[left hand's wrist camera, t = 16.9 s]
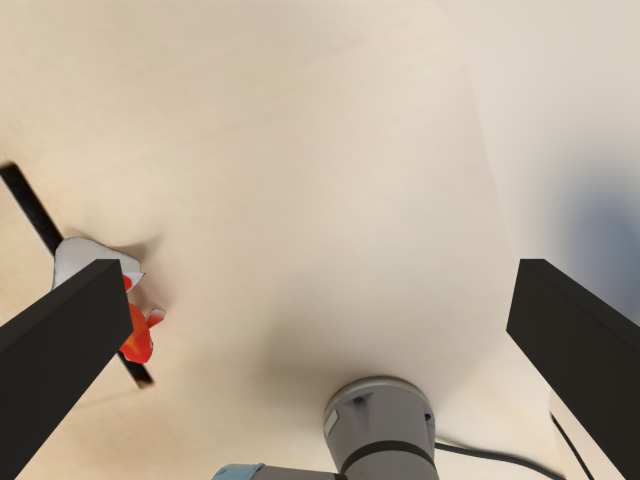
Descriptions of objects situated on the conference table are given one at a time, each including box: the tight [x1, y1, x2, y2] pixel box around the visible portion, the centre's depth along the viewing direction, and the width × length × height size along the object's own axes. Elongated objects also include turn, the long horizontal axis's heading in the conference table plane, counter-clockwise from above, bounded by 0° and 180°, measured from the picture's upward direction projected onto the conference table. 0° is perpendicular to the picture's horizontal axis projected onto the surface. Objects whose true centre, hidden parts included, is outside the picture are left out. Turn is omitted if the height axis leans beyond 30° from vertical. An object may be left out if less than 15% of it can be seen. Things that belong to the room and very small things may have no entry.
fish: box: [51, 237, 166, 363], centre depth 42 cm, size 11×16×10 cm
